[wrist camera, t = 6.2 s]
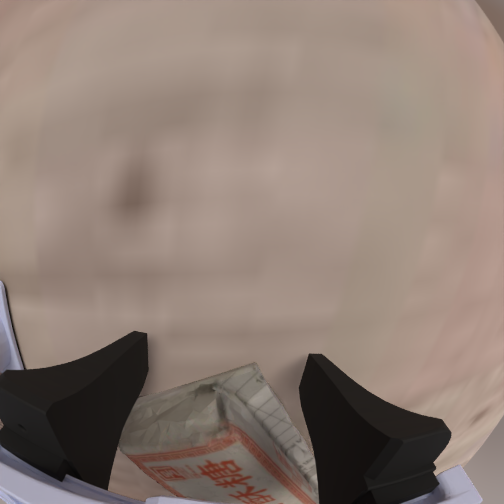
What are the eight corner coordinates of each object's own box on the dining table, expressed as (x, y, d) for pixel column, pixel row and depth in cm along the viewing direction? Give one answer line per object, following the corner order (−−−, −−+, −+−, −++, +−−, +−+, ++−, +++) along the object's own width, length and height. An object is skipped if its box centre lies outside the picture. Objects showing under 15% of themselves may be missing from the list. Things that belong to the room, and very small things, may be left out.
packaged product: (83, 450, 9) (262, 420, 9) (110, 397, 14) (255, 352, 13) (237, 547, 13) (348, 524, 13) (237, 509, 18) (336, 485, 17)
